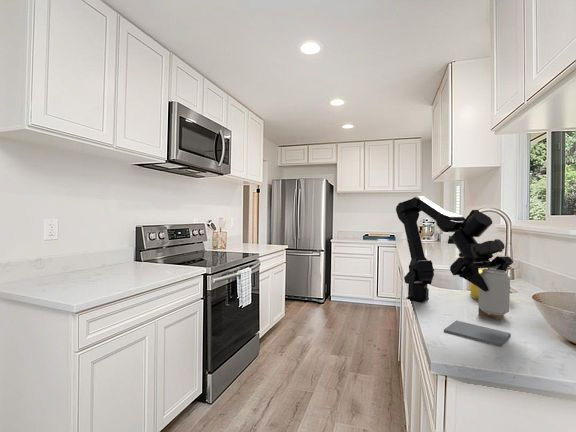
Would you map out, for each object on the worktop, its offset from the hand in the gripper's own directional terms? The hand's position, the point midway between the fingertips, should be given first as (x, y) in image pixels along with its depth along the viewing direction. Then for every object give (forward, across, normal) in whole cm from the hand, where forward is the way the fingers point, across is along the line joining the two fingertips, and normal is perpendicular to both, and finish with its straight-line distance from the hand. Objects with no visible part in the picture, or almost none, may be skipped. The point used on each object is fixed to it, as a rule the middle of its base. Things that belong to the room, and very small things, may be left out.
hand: (498, 290), depth 91 cm
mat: (+8, -6, +10) cm, 14 cm away
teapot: (-14, +32, +32) cm, 47 cm away
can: (+4, 0, +6) cm, 7 cm away
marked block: (0, +12, +18) cm, 21 cm away
